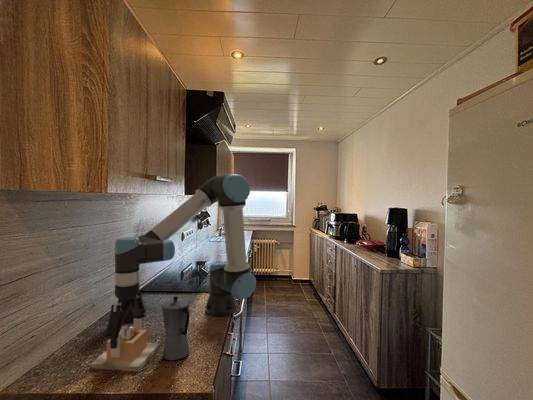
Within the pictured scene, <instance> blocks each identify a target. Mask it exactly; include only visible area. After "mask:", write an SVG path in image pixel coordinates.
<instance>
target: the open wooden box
mask: <svg viewBox="0 0 533 400" xmlns="http://www.w3.org/2000/svg"><path fill="white" fill-rule="evenodd" d="M119 336H120V357H119V358H117V357H111V347H110V339H107V341H106V350H107V360H117V361H131V362H133V361H134V360H135V359H136V358H137V357H138V356H139V354H140V353H141V352H142V351H143V350H144V349H145V348H146V347H147V343H148V329H142V330H140V329H134V338H133V339H132V340H131V341H129V340H121V330H120V333H119Z"/></svg>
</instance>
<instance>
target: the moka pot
mask: <svg viewBox="0 0 533 400" xmlns="http://www.w3.org/2000/svg"><path fill="white" fill-rule="evenodd" d="M189 303H190V302H188V300H181V299H179V298H178V296H173V300H172V299H171V300H166V301H165V302H164V303H163V304H161V309H162V317H163V318H162V319H163V325H164V326H163V327H164V332H165V335H164V345H163V346H164V347H163V353H162V357H163V359H165V360H167V361H177V360H182V359H184V358H185V357H187V356H188V355H189V354H190V344H189V338H188V327H189V322H190V304H189Z"/></svg>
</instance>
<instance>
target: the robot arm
mask: <svg viewBox="0 0 533 400" xmlns="http://www.w3.org/2000/svg"><path fill="white" fill-rule="evenodd" d="M250 193H251V186H250V184H249V182H248V180H247V179H246V177H244V175H243V176H242V175H241V174H238V173H237V174H235V173H229V174H218V175H215V176H212V177H211V178H210V179H208V180H207V181H206V182H205V183H203V184H202V185H200V186H199V187H198V188H197V189H196V190H195V193H194V194H193V195H192V196H191V197H189V198H188V199H187V200H186V201H184V202H183V203H182V204H181V205H179V206H178V207H177V208H176V209H175V210H173V211H172V212H171V213H170V214H168V215H167V216H166V217H165V218H163V219H162V220H161V221H160V222H158V223H157V224H156V225H155V226H154V227H153V228H151V229H150V230H148V231H147V232H146V233H145V234H140V235H138V236H125V237H119V238H117V239H116V240H115V243H114V284H115V286H114V296H115V298H117V299H118V300H117V304H112V305H111V307H110V315H109V319H108V324H107V328H106V332H105V334H104V335H105V337H104V338H105V339H106V340H109V339H110V347H111V357H117V358H119V357H120V336H119V333H120V331H121V327H122V326H123V324H124V323H123V321H124V318H125V316H126V315H127V314H128V312H129V311H130V310H131V311H132V313H133V314H134V316H135V317H136V318H134V322H133V325H134V329H140V330H143V319H144V318H145V317H146V311H147V310H146V308H145V304H144V301H143V296H142V291H140V281H141V280H140V278H141V277H140V276H141V275H140V269H141V268H140V265H145V264H151V263H157V262H165V261H170V260H172V259H173V258H174V257H175V254H176V251H175V250H176V247H175V244H174V241H172V239H170V238H171V237H173V235H175V234H176V233H178V231H179V230H181V229H182V228H184V227H185V226H186V225H187V224H188V223H189V222H190V221H191V220H193V219H194V218H195V217H196V216H197V215H199V213H201V212H202V211H203V210H204V209H206V207H211V206H212V205H214V204H215V203H217V202H218V208H220V209H221V210H222V214H223V215H222V216H223V229H224V241H225V254H226V255H225V257H226V261H225V260H224V261H217V262H213V263H211V264H210V265H209V271H208V272H209V277H208V278H209V281H208V282H209V283H208V284H209V289H208V290H209V292H208V293H209V294H208V298H207V301H206V304H205V313H206V314H207V315H209V316H213V317H226V316H230V315H233V314H235V313H236V312H237V311H238V304H237V303H238V302H237V300H236V299H238V300H245V299H248V298H249V297H250V296H251V295H252V294H253V292H254V291H255V289H256V286H257V278H256V276H255V275H254V274H253V273H251V272H252V271H251V264H249V262H247V253H246V251H247V249H246V240H245V239H246V238H245V237H246V235H245V226H244V225H245V223H244V222H245V221H244V210H243V209H244V207H245V206H246V204H247V203H246V202H247V201H246V200H247V199H248V198H249V195H250ZM120 311H121V312H120Z"/></svg>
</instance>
